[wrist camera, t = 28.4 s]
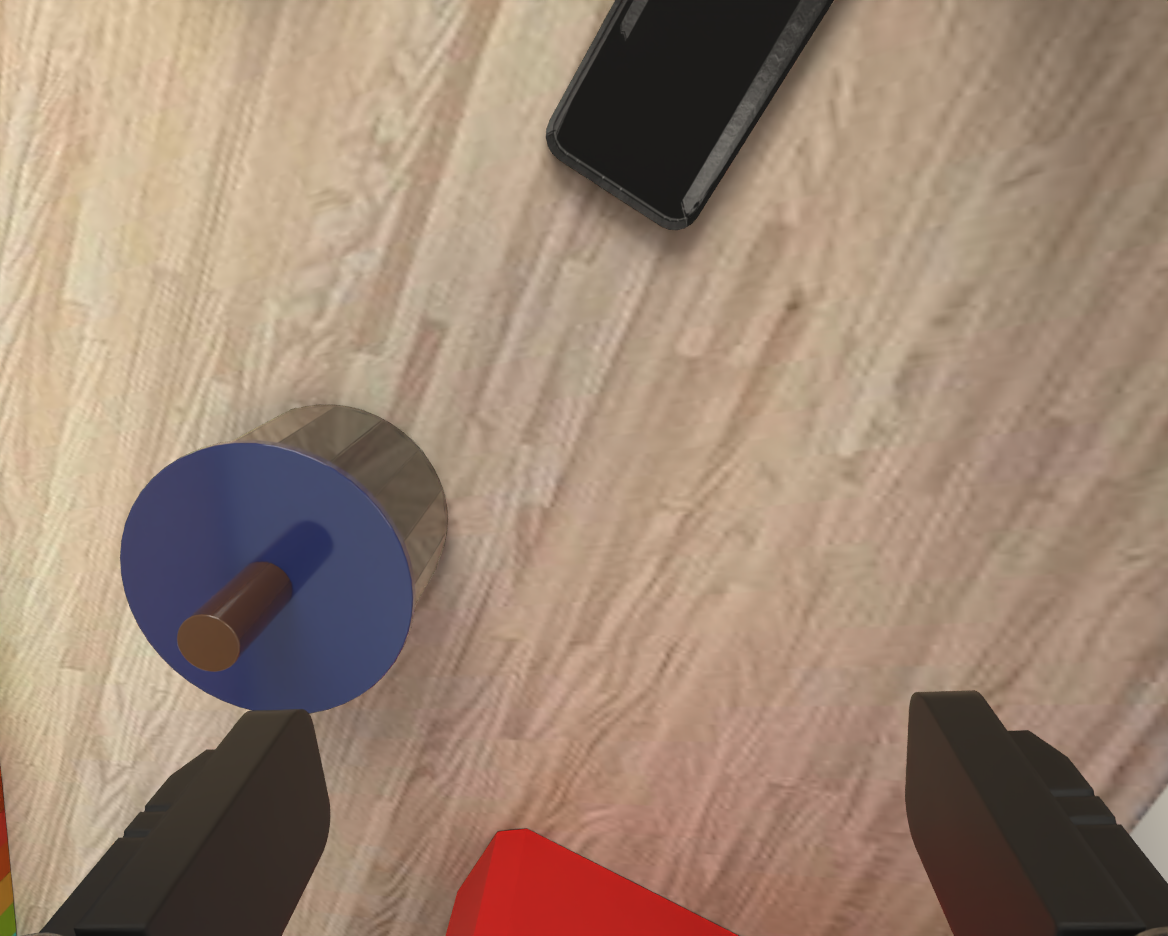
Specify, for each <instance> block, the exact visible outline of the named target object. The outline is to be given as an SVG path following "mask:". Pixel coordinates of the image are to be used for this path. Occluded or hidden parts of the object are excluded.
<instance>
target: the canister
mask: <svg viewBox="0 0 1168 936" xmlns="http://www.w3.org/2000/svg"><path fill="white" fill-rule="evenodd" d="M237 440H261V441H268V442H276V443H281V444H285V445H289V446H293V447H297V448H300V449H303V450H305V451H308V452H310V453H313V454H315V455H318V456H320V457H322V458H324V459H326V460H328V461H329V462H331V463H333V464H335V465H337V466H338V467H340V468H341V469H343V470H344V471H346V472H347V473H348V474H350V475H351V476H353V477H354V478H355V479H356V480H358V481H359V482H360V483H361V484H362V485H363V486H364V487H365V488H367V489H368V490H369V491H370V492H371V493H372V494H373V496H374V497H375V498H376V499H377V500H378V501H379V502H380V503H381V505H382V506H383V507H384V508H385V510H386V511H387V513H388V514H389V516H390V517H391V518H392V520H393V521H394V523H395V525H396V527H397V529H398V530H399V532H400V534H401V536H402V538H403V540H404V543H405V546H406V548H407V551H408V554H409V556H410V560H411V564H412V569H413V573H414V580H415V592H416V596H415V605H416V603H417V601H418V600H419V598H420V596H421V594H422V593H423V591H424V589H425V588H426V586H427V584H428V582H429V581H430V579H431V577H432V575H433V574H434V572H435V570H436V568H437V565H438V561H439V559H440V556H441V553H442V551H443V548H444V544H445V540H446V535H447V523H448V518H447V506H446V501H445V496H444V492H443V489H442V486H441V483H440V480H439V478H438V476H437V474H436V472H435V470H434V468H433V466H432V465H431V463H430V462H429V460H428V459H427V457H426V456H425V454H424V453H423V452H422V451H421V450H420V448H419V447H418V446H417V445H416V444H415V443H414V442H413V441H412V440H411V439H410V438H409V437H408V436H407V435H406V434H405V433H403V432H402V431H401V430H399V429H398V428H396V427H395V426H394V425H392V424H391V423H389V422H387V421H385V420H384V419H382V418H380V417H378V416H376V415H373V414H371V413H368V412H366V411H363V410H359V409H356V408H352V407H347V406H340V405H313V406H306V407H302V408H294V409H291V410H289V411H287V412H285V413H283V414H281V415H279V416H277V417H276V418H274V419H272V420H270V421H268V422H266V423H264V424H262V425H260V426H258V427H257V428H255V429H253V430H251V431H249V432H248V433H246V434H244V435H242V436H240V437H239V438H237V439H235V440H233V441H237Z"/></svg>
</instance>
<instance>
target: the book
mask: <svg viewBox="0 0 1168 936" xmlns="http://www.w3.org/2000/svg"><path fill="white" fill-rule="evenodd" d="M446 936H738V935H736V934H734V933H732V932H730V931H728V930H726V929H724V928H722V927H720V926H718V925H716V924H714V923H712V922H710V921H708V920H706V919H704V918H702V917H700V916H699V915H697V914H695V913H693V912H691V911H689V910H687V909H685V908H683V907H681V906H679V905H677V904H675V903H673V902H671V901H669V900H667V899H665V898H663V897H661V896H659V895H657V894H655V893H653V892H651V891H649V890H647V889H645V888H643V887H641V886H639V885H637V884H635V883H633V882H631V881H629V880H627V879H625V878H623V877H621V876H619V875H617V874H615V873H613V872H611V871H609V870H607V869H606V868H604V867H602V866H600V865H598V864H596V863H594V862H592V861H590V860H588V859H586V858H584V857H582V856H580V855H578V854H576V853H574V852H572V851H570V850H568V849H566V848H564V847H562V846H560V845H558V844H556V843H554V842H552V841H550V840H548V839H546V838H544V837H542V836H540V835H538V834H536V833H534V832H532V831H530V830H528V829H518V830H508V831H499V832H497V833H496V835H495V836H494V838H493V839H492V841H491V842H490V844H489V845H488V847H487V848H486V850H485V851H484V853H483V854H482V856H481V857H480V859H479V860H478V862H477V863H476V865H475V866H474V868H473V869H472V871H471V872H470V874H469V875H468V877H467V878H466V880H465V881H464V883H463V884H462V886H461V887H460V889H459V890H458V892H457V896H456V899H455V903H454V907H453V910H452V914H451V918H450V922H449V925H448V929H447V933H446Z"/></svg>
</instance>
